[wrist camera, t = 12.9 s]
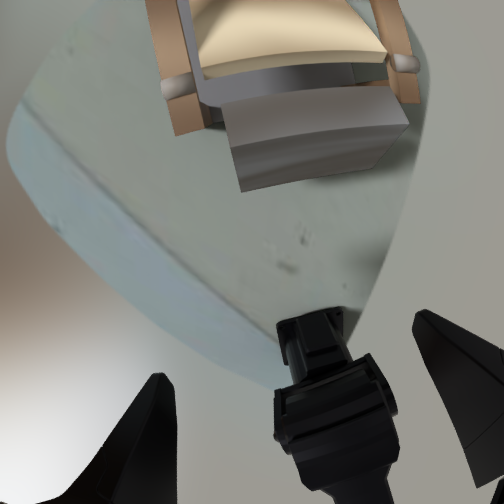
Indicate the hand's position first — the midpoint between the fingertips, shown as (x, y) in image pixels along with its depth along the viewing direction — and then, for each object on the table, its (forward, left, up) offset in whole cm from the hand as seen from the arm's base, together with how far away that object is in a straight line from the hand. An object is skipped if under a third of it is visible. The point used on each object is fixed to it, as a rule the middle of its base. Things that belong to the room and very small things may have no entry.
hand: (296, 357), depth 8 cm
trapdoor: (+9, -3, -12) cm, 15 cm away
